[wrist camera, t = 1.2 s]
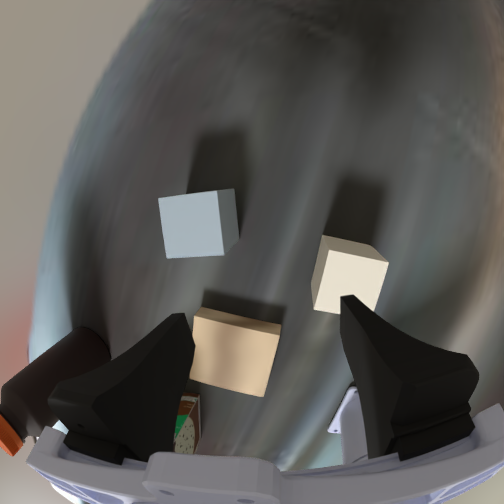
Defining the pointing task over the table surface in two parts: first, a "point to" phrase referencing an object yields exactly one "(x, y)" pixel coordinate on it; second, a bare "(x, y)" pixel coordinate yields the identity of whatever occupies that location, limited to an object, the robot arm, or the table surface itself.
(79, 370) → the bottle
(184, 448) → the food container
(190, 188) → the table surface
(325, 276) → the cream block
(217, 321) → the oak slab
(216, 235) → the slate block
